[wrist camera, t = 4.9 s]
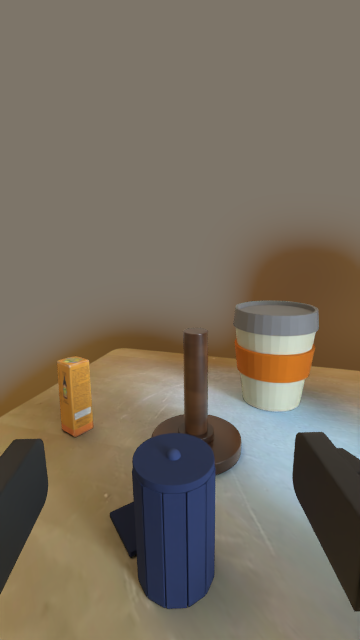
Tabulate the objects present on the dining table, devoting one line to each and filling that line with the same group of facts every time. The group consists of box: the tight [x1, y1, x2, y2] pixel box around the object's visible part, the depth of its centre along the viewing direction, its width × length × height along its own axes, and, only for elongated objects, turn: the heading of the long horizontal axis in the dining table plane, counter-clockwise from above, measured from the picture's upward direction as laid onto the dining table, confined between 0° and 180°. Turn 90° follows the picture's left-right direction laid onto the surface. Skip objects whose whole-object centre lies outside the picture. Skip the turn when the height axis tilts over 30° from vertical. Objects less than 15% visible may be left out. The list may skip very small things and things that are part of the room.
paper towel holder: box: [152, 328, 241, 475], centre depth 39 cm, size 11×11×15 cm
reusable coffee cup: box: [233, 301, 319, 412], centre depth 51 cm, size 13×12×15 cm
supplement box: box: [57, 356, 93, 437], centre depth 44 cm, size 3×3×10 cm
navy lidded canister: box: [110, 433, 215, 609], centre depth 26 cm, size 10×6×10 cm, turn 32°
